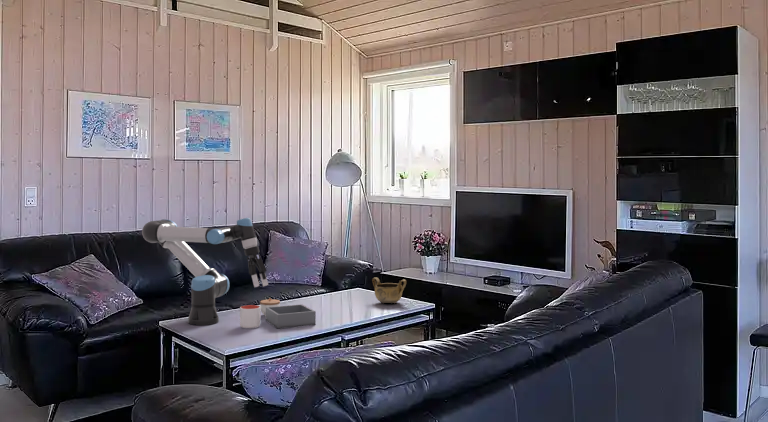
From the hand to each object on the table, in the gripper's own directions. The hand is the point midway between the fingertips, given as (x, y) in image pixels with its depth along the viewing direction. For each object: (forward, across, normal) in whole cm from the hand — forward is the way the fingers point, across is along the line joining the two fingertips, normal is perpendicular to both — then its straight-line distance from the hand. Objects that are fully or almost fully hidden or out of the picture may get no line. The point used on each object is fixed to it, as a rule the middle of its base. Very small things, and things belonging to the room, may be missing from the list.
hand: (261, 286), depth 344 cm
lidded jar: (+17, +11, -4) cm, 21 cm away
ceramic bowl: (+32, +10, -77) cm, 84 cm away
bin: (+22, -11, -6) cm, 25 cm away
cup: (+18, -10, +14) cm, 25 cm away
